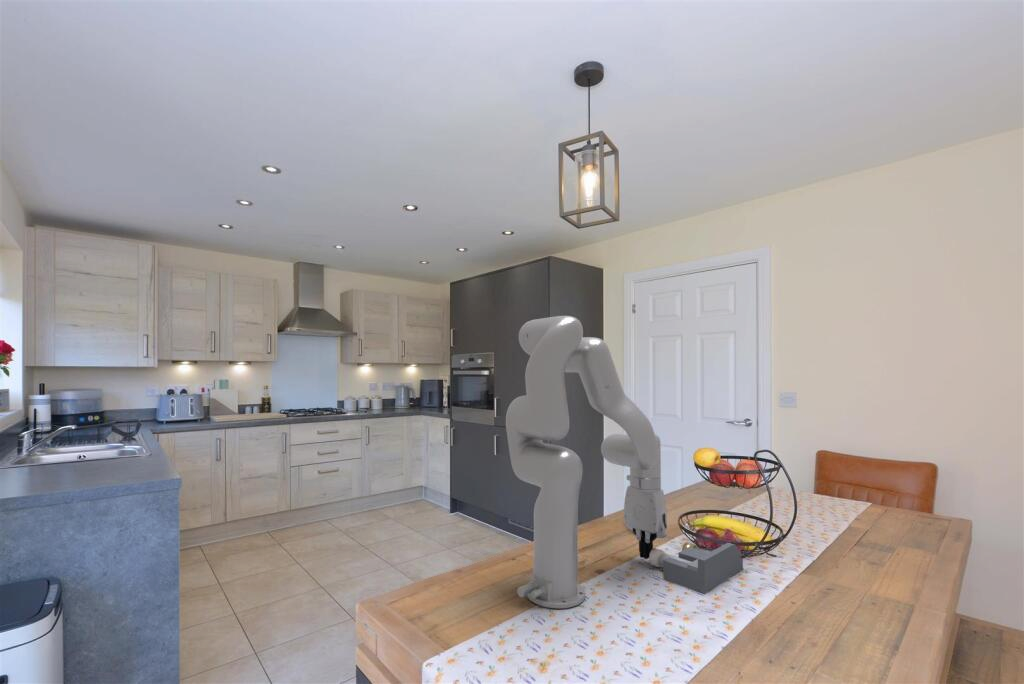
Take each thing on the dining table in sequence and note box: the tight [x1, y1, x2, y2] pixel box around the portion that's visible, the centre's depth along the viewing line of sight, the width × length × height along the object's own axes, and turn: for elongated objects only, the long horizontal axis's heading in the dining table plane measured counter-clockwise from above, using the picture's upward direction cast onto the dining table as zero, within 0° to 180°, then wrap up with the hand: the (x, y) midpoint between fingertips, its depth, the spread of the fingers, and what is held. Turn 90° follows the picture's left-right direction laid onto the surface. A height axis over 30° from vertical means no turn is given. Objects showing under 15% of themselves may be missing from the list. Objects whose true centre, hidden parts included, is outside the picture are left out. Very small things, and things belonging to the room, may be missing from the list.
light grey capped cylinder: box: [648, 547, 691, 568], centre depth 115 cm, size 4×10×4 cm, turn 42°
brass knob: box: [681, 542, 711, 553], centre depth 120 cm, size 4×10×4 cm, turn 42°
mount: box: [662, 537, 744, 594], centre depth 115 cm, size 20×10×7 cm, turn 132°
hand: (646, 556), depth 120 cm, fingers closed
